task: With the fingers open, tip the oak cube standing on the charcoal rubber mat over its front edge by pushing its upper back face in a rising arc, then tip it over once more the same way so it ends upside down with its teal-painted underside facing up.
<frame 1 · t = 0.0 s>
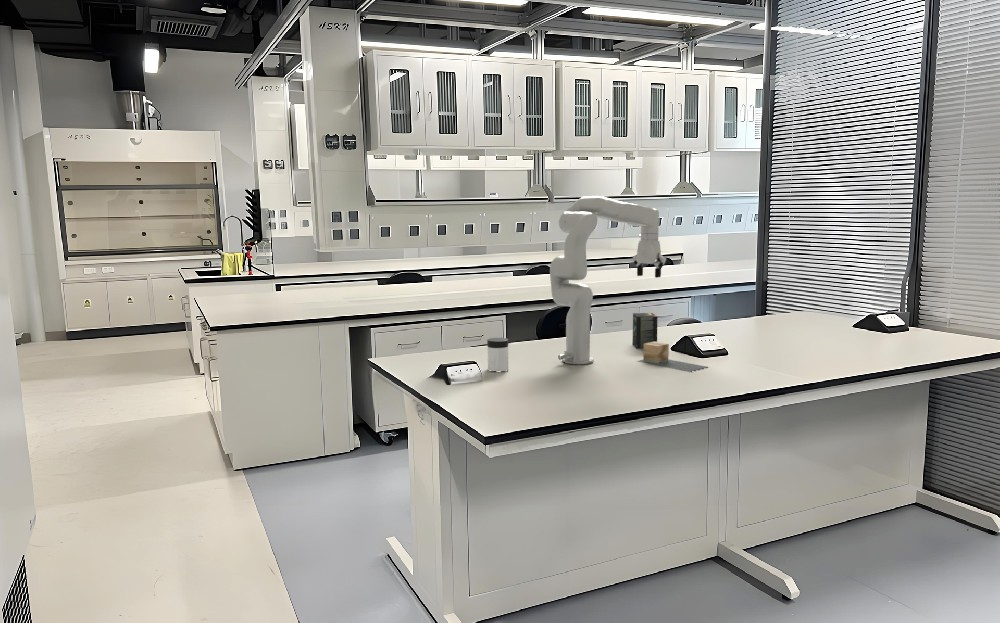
hand: (648, 276, 306), 31 cm above the table, tool pointing down, fingers open, 9 cm apart
jar: (498, 370, 269), on the table
tampon box: (644, 347, 310), on the table
oak block: (655, 360, 279), resting on rubber mat
rubber mat: (671, 364, 274), on the table
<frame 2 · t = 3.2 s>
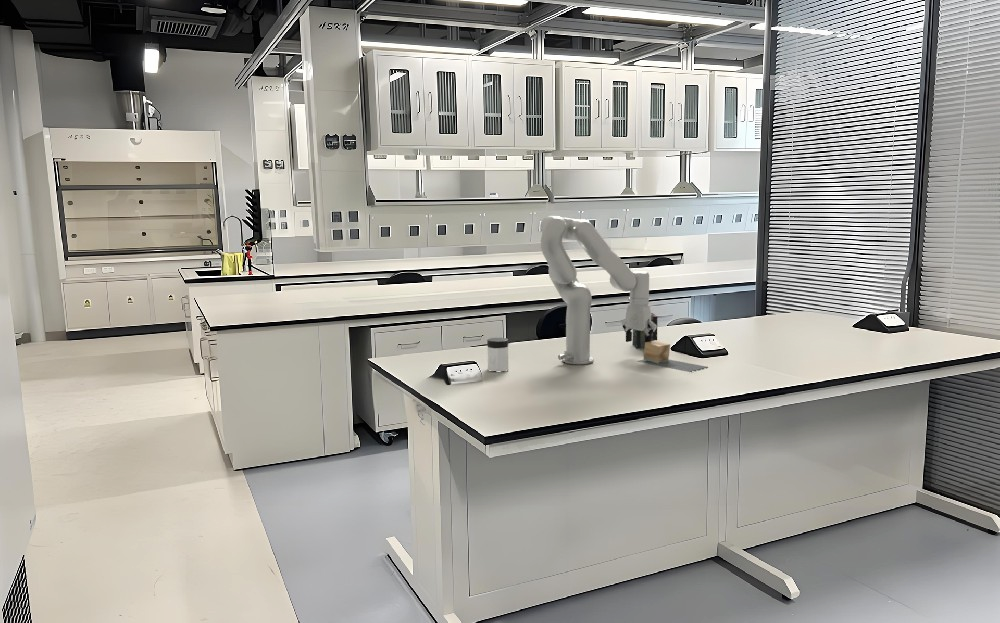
hand: (638, 343, 285), 6 cm above the table, tool pointing down, fingers open, 9 cm apart
oak block: (655, 360, 279), point 1 cm above the table, tilted 6°, touching gripper, rubber mat
everything else where it was.
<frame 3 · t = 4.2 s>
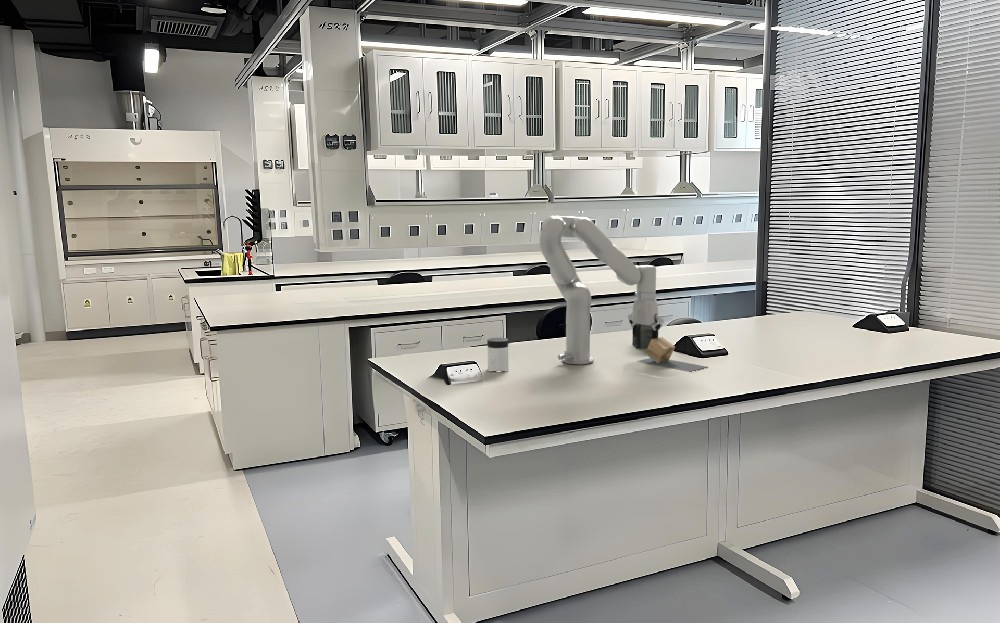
hand: (645, 338, 282), 9 cm above the table, tool pointing down, fingers open, 9 cm apart
oak block: (656, 357, 279), point 2 cm above the table, tilted 26°, touching rubber mat
everything else where it was.
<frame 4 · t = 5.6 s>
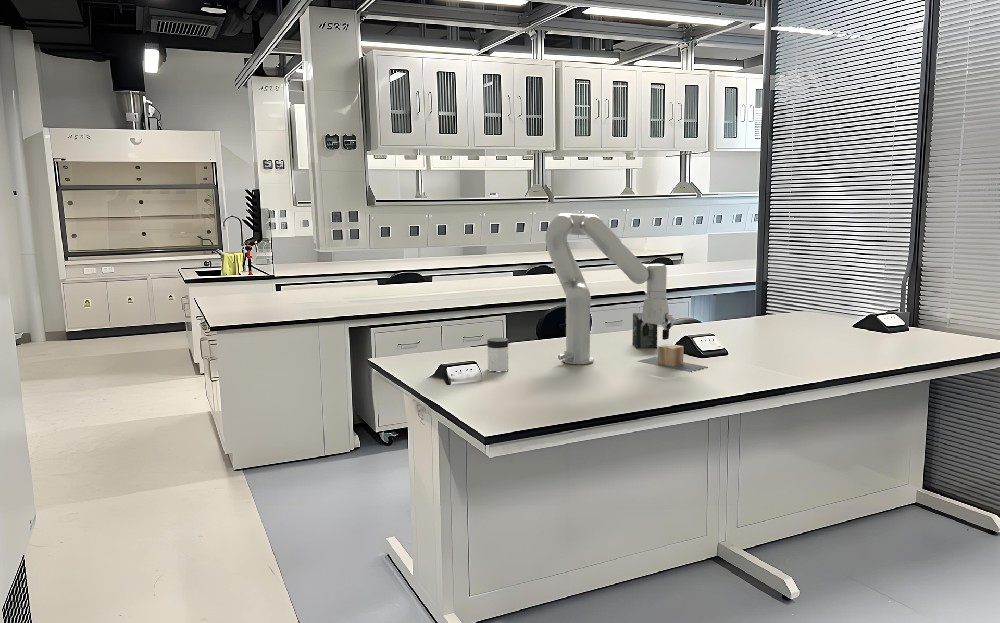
hand: (655, 337, 278), 10 cm above the table, tool pointing down, fingers open, 9 cm apart
oak block: (663, 353, 276), point 4 cm above the table, tilted 90°, touching rubber mat
everything else where it was.
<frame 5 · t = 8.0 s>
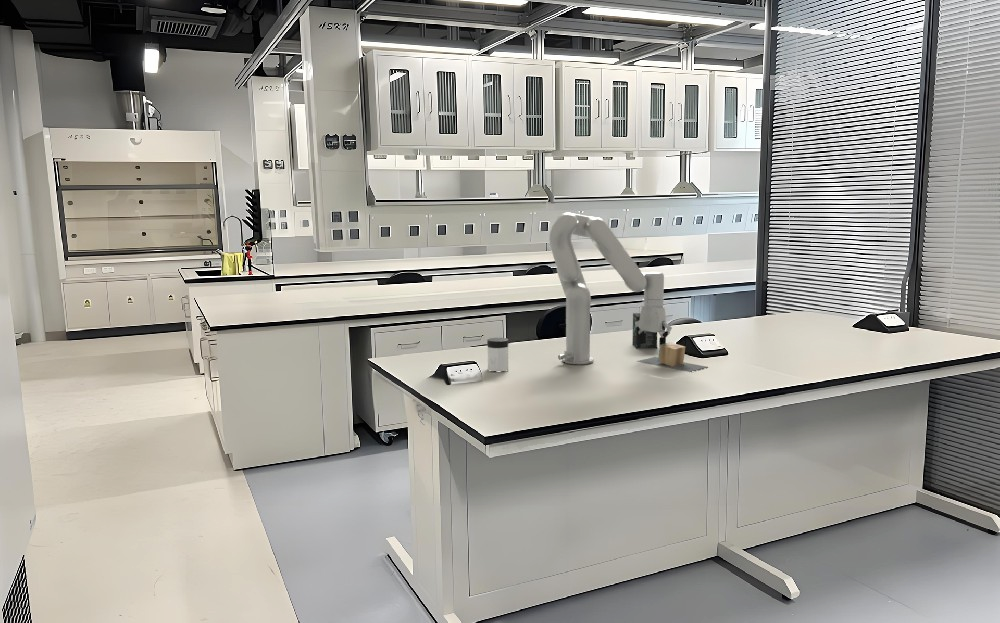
hand: (652, 345, 280), 7 cm above the table, tool pointing down, fingers open, 9 cm apart
oak block: (664, 352, 276), point 5 cm above the table, tilted 96°, touching rubber mat
everything else where it was.
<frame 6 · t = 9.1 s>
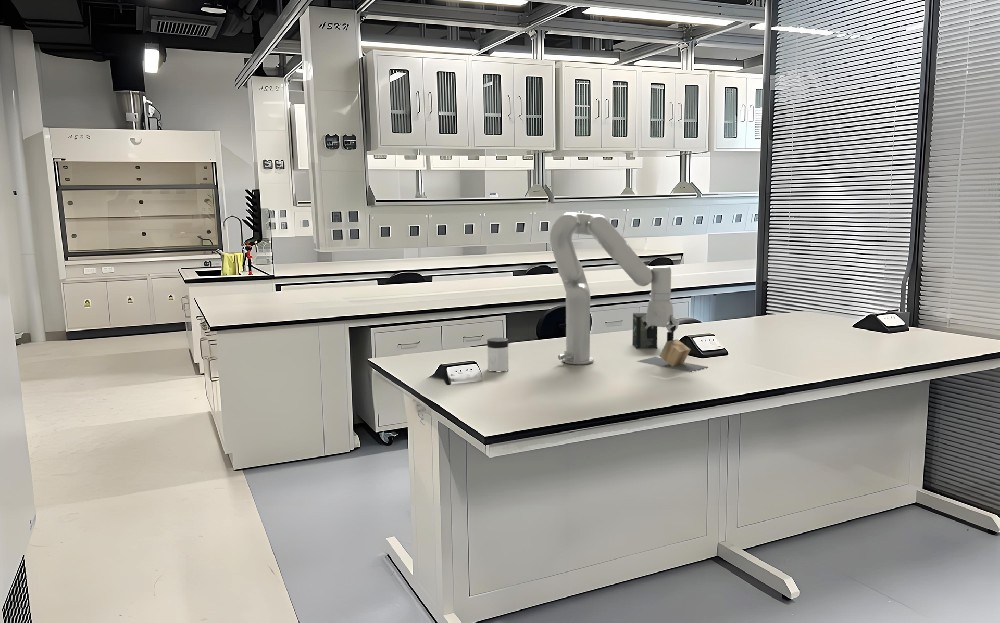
hand: (659, 340, 277), 9 cm above the table, tool pointing down, fingers open, 9 cm apart
oak block: (668, 347, 274), point 7 cm above the table, tilted 117°, touching gripper, rubber mat
everything else where it was.
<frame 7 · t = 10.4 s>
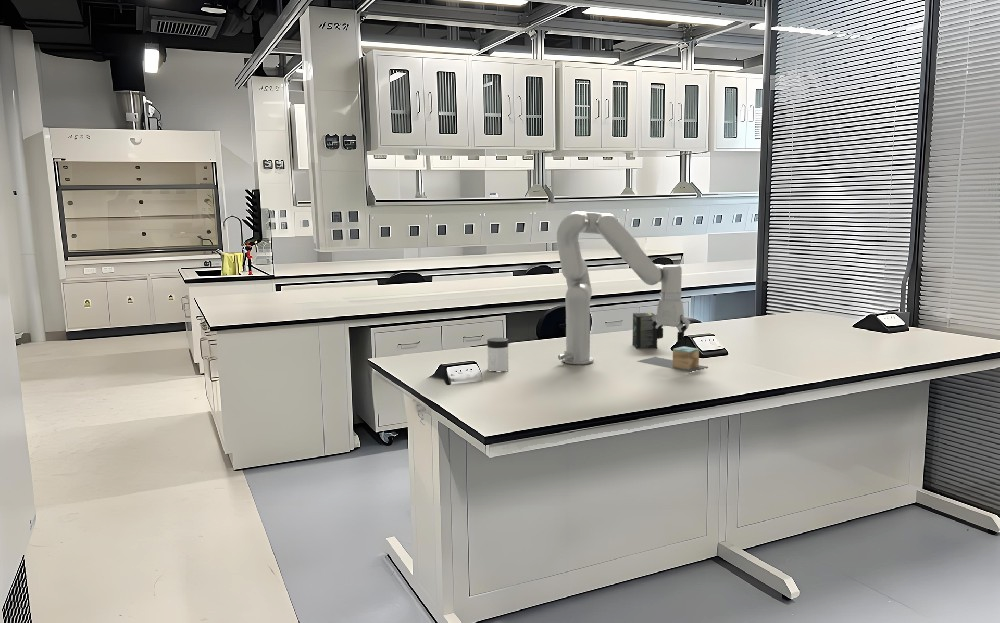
hand: (670, 339, 273), 10 cm above the table, tool pointing down, fingers open, 9 cm apart
oak block: (686, 348, 268), point 7 cm above the table, tilted 180°, touching rubber mat
everything else where it was.
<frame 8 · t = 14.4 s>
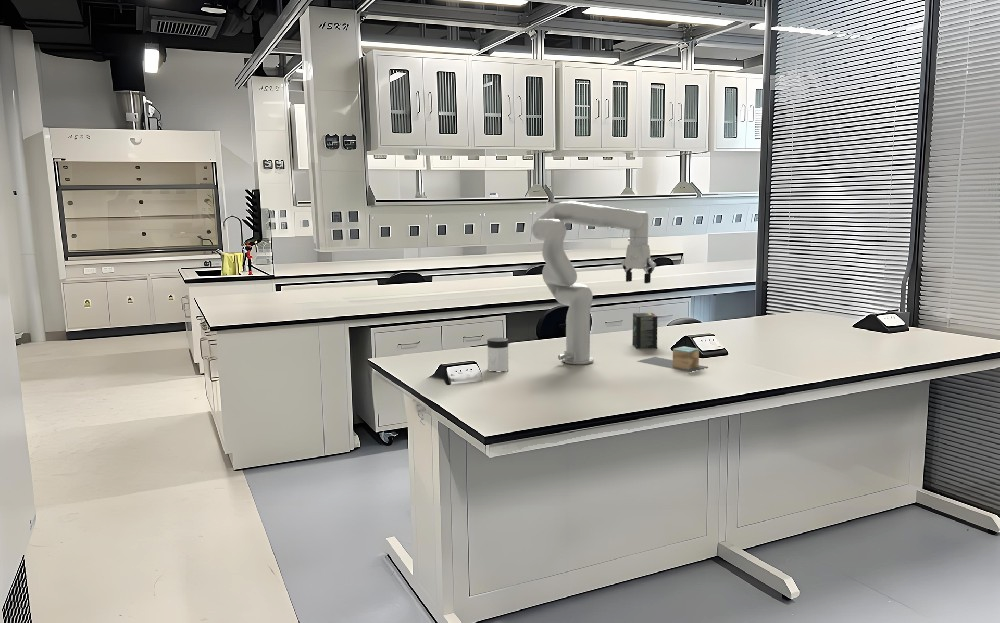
hand: (638, 282, 292), 30 cm above the table, tool pointing down, fingers open, 9 cm apart
nothing on the table moved.
at the end: oak block tilted 180°; oak block inside the target area (1.5 cm from its centre), point 7.4 cm above the table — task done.
